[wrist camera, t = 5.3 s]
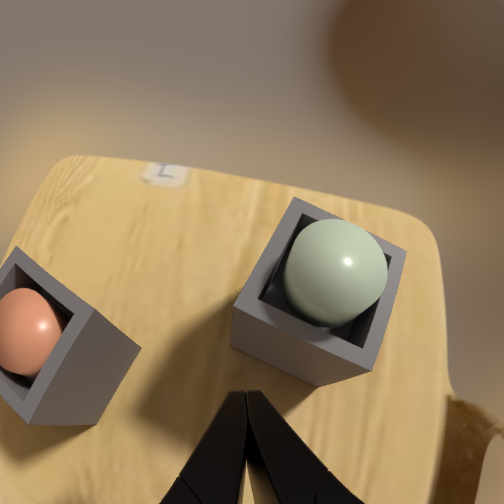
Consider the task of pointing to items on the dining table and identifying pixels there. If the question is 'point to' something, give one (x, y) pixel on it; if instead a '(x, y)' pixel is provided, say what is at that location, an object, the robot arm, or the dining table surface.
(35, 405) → the grey square housing
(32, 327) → the terracotta button
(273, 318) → the grey square socket
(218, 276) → the dining table surface
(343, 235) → the sage button
